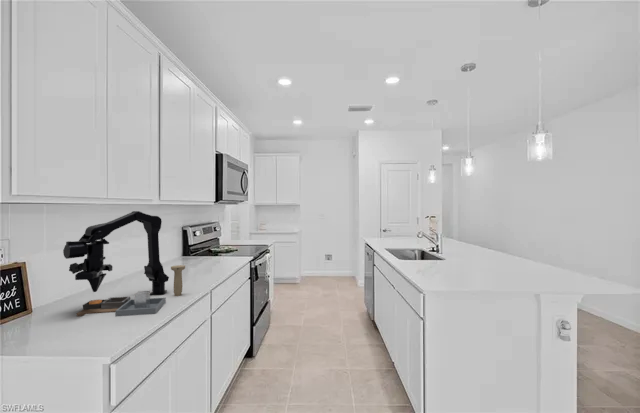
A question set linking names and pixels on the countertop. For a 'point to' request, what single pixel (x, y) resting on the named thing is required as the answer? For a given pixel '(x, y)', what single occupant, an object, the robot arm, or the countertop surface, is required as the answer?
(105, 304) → the brown wood panel
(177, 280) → the handle
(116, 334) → the countertop surface
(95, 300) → the button
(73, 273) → the robot arm
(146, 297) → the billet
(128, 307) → the tote
